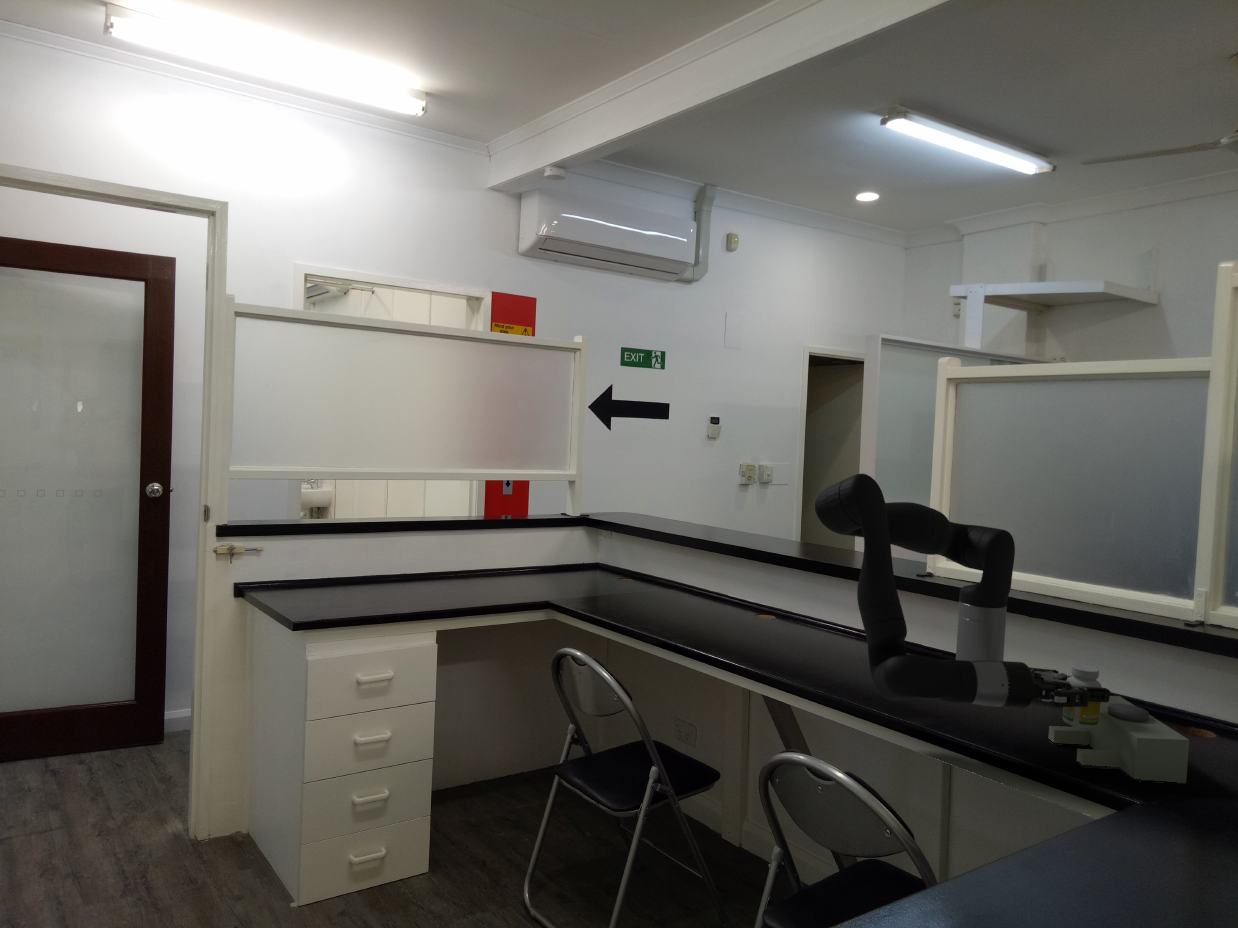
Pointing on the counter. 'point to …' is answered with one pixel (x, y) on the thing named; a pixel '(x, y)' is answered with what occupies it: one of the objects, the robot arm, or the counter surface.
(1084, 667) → the supplement bottle
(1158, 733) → the olive footed block
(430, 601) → the counter surface
